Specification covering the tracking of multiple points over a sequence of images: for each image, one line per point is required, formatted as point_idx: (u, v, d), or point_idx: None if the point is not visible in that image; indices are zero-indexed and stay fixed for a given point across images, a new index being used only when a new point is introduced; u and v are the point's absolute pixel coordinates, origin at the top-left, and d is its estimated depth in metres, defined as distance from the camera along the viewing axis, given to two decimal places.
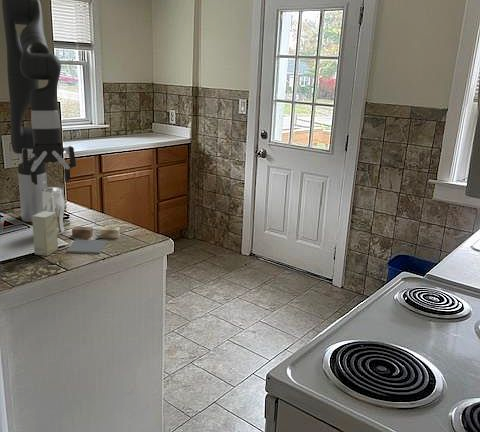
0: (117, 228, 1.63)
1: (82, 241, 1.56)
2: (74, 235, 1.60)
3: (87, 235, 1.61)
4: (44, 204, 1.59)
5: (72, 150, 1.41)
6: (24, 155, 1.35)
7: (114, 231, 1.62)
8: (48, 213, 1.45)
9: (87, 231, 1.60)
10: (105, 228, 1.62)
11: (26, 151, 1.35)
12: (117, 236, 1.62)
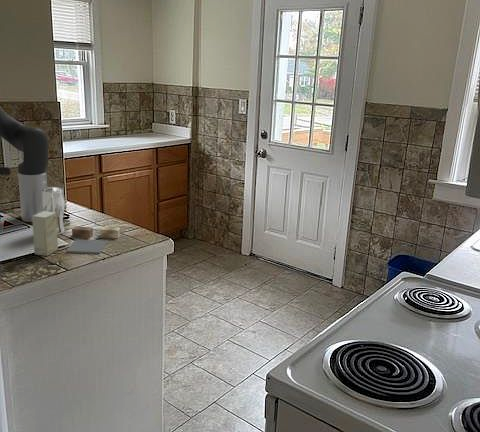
0: (117, 228, 1.63)
1: (82, 241, 1.56)
2: (74, 234, 1.61)
3: (87, 235, 1.60)
4: (44, 204, 1.59)
5: None
6: None
7: (114, 231, 1.62)
8: (48, 213, 1.45)
9: (87, 231, 1.60)
10: (105, 228, 1.62)
11: None
12: (117, 236, 1.62)
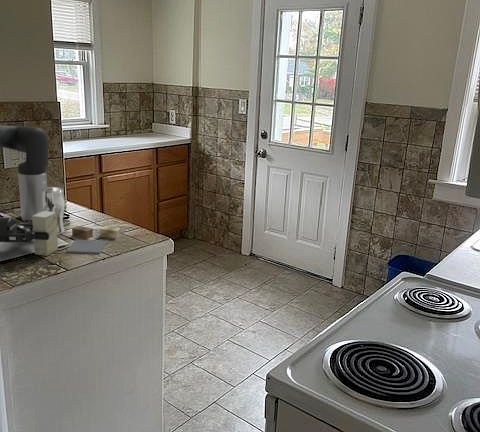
0: (117, 228, 1.63)
1: (82, 241, 1.56)
2: (74, 234, 1.61)
3: (85, 235, 1.60)
4: (44, 204, 1.59)
5: None
6: None
7: (113, 231, 1.61)
8: (48, 213, 1.44)
9: (85, 231, 1.59)
10: (105, 228, 1.63)
11: None
12: (116, 236, 1.62)
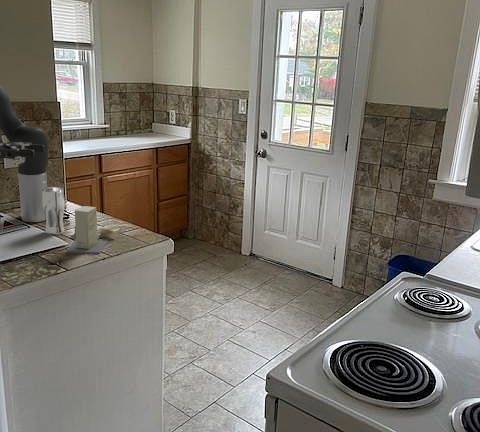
0: (116, 229, 1.62)
1: None
2: (75, 232, 1.63)
3: None
4: (44, 204, 1.59)
5: None
6: None
7: (111, 231, 1.61)
8: (89, 208, 1.50)
9: None
10: (106, 228, 1.63)
11: None
12: (113, 237, 1.61)
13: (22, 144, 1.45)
